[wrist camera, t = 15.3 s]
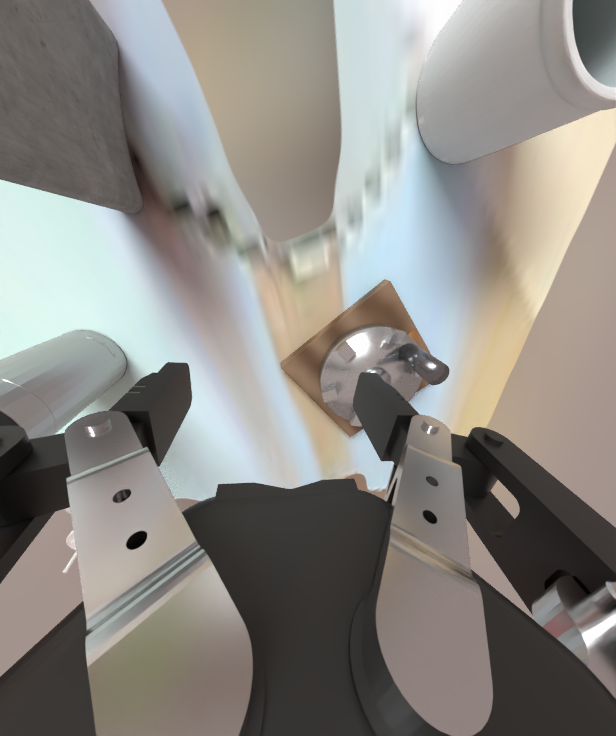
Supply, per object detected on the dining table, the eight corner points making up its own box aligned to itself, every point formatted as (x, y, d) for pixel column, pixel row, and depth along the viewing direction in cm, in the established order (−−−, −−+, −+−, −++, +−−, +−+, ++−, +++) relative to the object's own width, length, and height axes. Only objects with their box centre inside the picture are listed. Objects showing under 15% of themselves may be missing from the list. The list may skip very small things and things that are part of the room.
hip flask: (145, 215, 30) (-40, 163, 12) (109, 210, 29) (-146, 147, 11) (114, 23, 23) (-433, -775, 5) (65, 10, 22) (-771, -970, 4)
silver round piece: (296, 374, 40) (304, 412, 31) (379, 299, 36) (416, 315, 27) (359, 428, 48) (381, 471, 38) (432, 370, 44) (476, 402, 35)
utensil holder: (496, 176, 33) (694, 111, 18) (399, 168, 31) (527, 86, 16) (546, 14, 27) (927, -313, 11) (427, -11, 25) (695, -456, 9)
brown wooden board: (347, 430, 51) (350, 437, 49) (280, 362, 41) (281, 368, 39) (435, 369, 47) (442, 375, 45) (384, 279, 37) (390, 281, 36)
